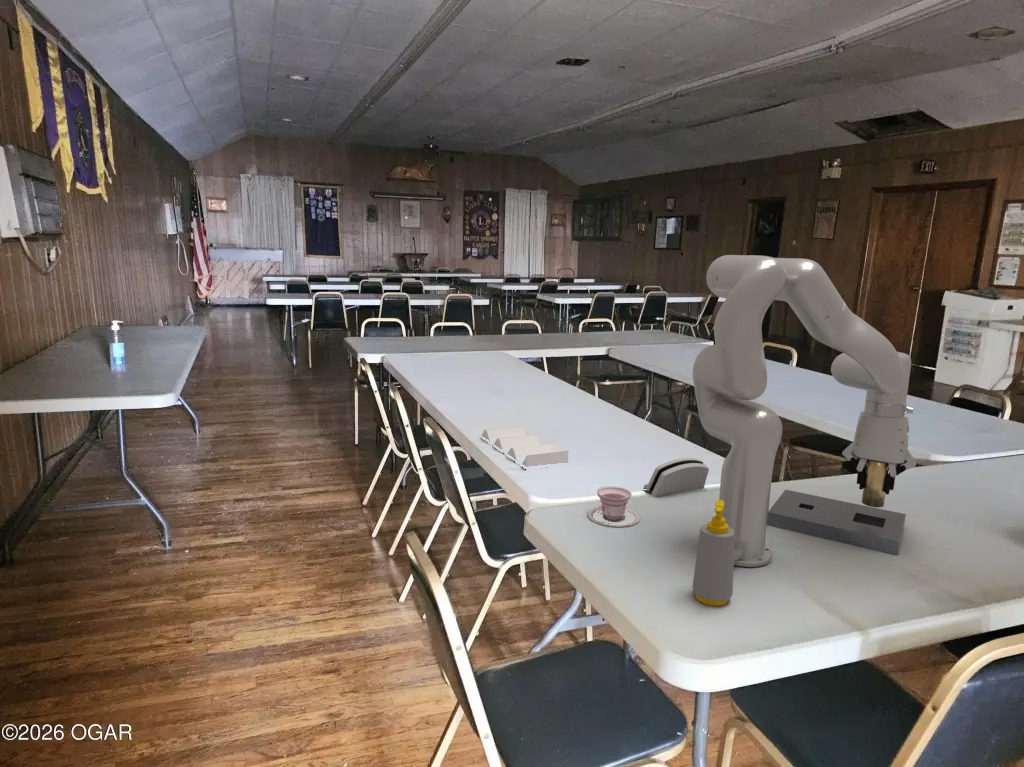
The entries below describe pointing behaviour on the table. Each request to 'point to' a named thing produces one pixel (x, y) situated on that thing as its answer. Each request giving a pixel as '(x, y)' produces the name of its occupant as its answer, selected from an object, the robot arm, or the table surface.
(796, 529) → the plate
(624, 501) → the teacup
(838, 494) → the table surface
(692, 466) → the napkin holder
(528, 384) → the table surface
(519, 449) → the white zigzag rack
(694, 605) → the table surface
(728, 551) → the soap bottle
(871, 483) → the tan cylinder
